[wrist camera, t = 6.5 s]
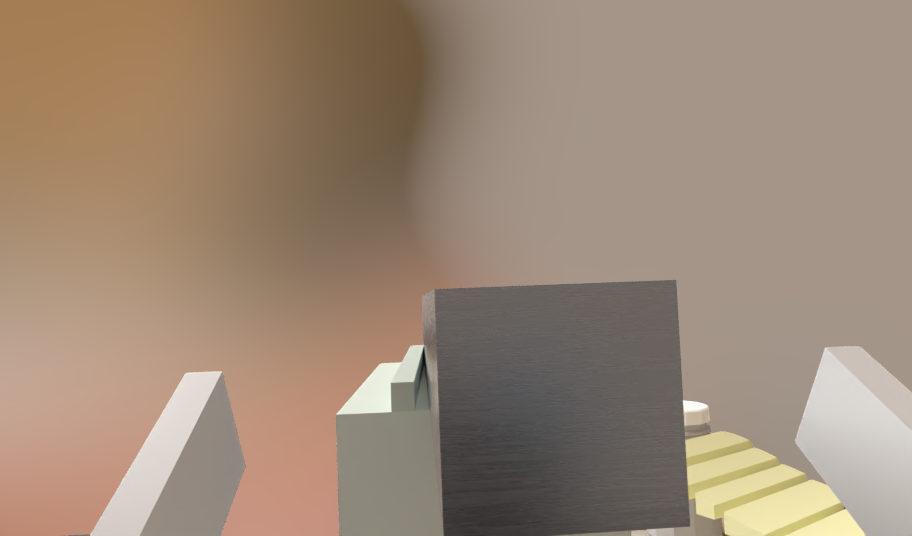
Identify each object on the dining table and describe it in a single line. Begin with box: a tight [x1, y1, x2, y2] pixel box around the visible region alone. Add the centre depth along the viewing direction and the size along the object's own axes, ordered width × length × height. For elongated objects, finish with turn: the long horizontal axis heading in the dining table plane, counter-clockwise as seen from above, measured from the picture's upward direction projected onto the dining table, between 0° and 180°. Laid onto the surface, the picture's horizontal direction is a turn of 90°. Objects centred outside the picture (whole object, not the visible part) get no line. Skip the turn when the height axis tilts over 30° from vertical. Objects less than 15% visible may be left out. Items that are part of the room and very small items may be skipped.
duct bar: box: [422, 280, 690, 536], centre depth 25 cm, size 30×4×4 cm, turn 4°
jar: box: [647, 400, 723, 536], centre depth 80 cm, size 10×10×18 cm
